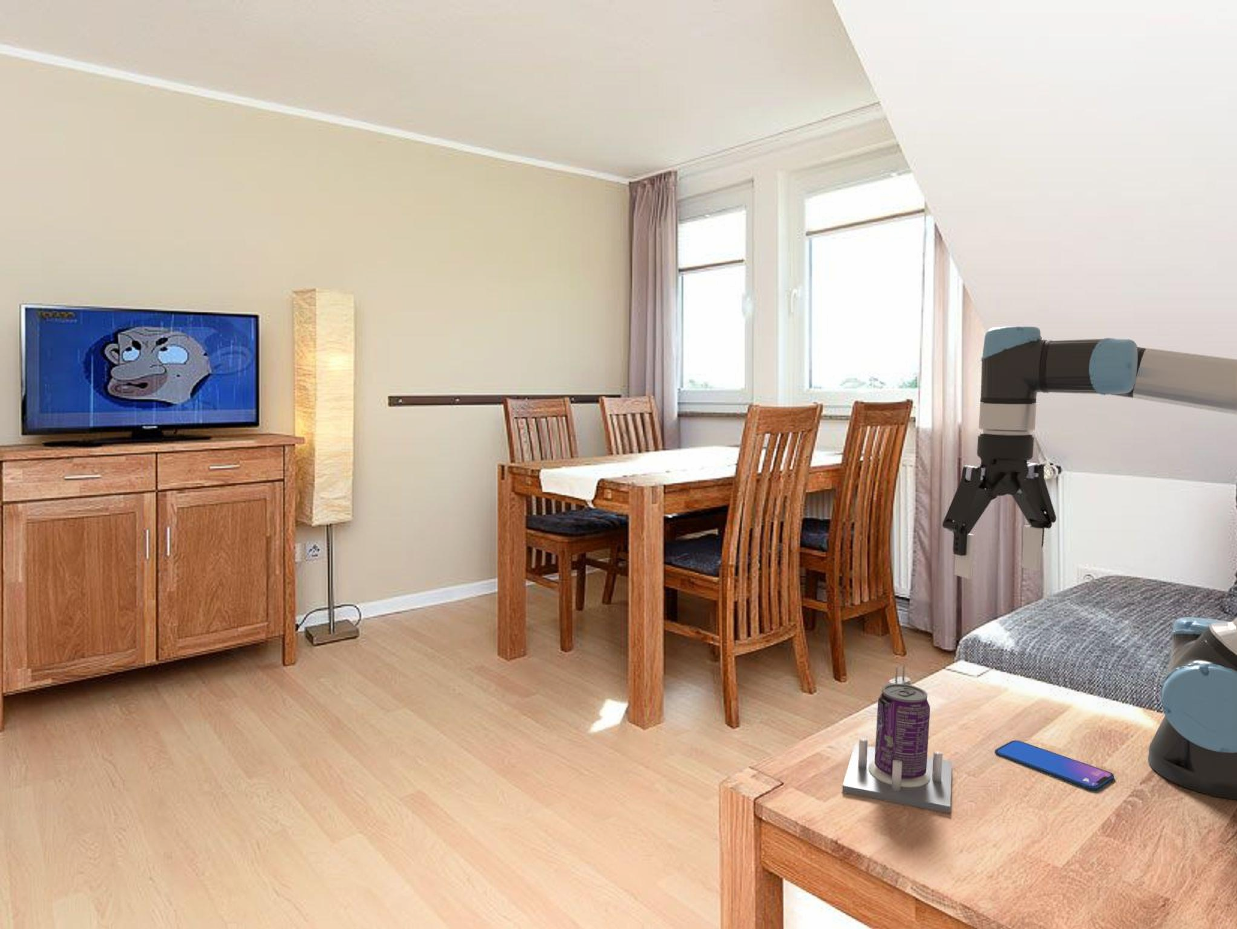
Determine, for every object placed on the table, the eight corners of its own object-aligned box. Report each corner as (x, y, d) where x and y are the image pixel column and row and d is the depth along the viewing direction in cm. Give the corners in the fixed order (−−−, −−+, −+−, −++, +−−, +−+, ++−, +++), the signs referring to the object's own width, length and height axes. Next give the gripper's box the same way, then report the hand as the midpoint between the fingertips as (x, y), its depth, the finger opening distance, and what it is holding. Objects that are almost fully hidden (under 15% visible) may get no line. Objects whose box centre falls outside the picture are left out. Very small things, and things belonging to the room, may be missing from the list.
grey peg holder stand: (951, 767, 121) (953, 735, 120) (949, 813, 108) (951, 778, 108) (854, 749, 126) (856, 719, 126) (842, 792, 114) (843, 758, 113)
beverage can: (889, 754, 122) (894, 678, 121) (934, 772, 117) (940, 692, 116) (864, 769, 117) (869, 690, 116) (910, 788, 112) (916, 705, 111)
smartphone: (1015, 738, 130) (1117, 774, 118) (1014, 743, 130) (1116, 779, 118) (991, 751, 126) (1095, 789, 114) (991, 756, 126) (1094, 795, 114)
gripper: (1045, 429, 128) (1036, 560, 130) (921, 432, 119) (914, 574, 121) (1088, 432, 121) (1078, 571, 123) (960, 436, 112) (952, 586, 114)
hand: (997, 572), depth 122 cm, fingers open, 13 cm apart
